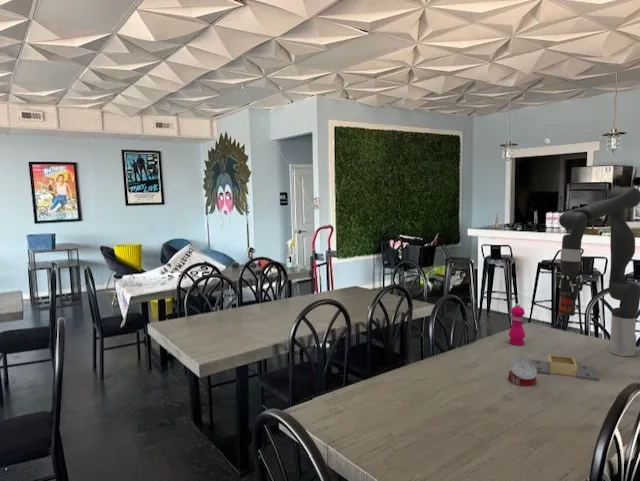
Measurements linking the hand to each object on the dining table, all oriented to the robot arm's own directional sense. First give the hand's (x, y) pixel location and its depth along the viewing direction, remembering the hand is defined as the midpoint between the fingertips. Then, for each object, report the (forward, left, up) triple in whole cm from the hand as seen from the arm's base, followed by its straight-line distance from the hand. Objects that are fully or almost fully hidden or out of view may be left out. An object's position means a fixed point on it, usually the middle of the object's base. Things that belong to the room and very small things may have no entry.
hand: (567, 298), depth 193 cm
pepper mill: (+19, -21, -29) cm, 40 cm away
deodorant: (0, 0, -7) cm, 7 cm away
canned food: (+18, +26, -29) cm, 43 cm away
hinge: (+2, +9, -28) cm, 30 cm away
